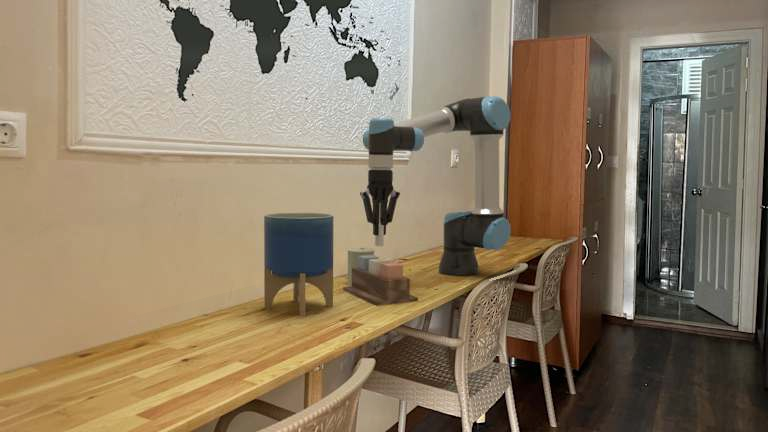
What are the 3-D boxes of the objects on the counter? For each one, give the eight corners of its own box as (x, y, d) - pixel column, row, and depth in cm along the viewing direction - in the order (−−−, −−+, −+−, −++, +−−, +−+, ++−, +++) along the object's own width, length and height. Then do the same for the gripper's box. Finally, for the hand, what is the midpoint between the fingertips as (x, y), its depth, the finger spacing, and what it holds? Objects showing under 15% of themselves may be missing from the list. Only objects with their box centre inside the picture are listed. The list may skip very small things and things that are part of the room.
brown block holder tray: (381, 286, 205) (381, 265, 205) (418, 301, 184) (418, 277, 183) (343, 289, 199) (343, 268, 198) (376, 305, 178) (376, 281, 177)
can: (375, 281, 215) (375, 246, 214) (372, 286, 206) (372, 250, 205) (349, 280, 216) (349, 246, 215) (345, 285, 206) (345, 249, 205)
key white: (382, 278, 194) (383, 258, 194) (390, 281, 190) (390, 260, 189) (368, 280, 192) (368, 259, 192) (375, 283, 188) (375, 262, 187)
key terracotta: (394, 283, 187) (395, 262, 187) (402, 286, 183) (403, 264, 182) (380, 284, 185) (380, 263, 185) (387, 287, 181) (388, 266, 180)
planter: (327, 298, 186) (328, 212, 184) (338, 314, 167) (338, 217, 165) (262, 301, 181) (262, 212, 179) (266, 317, 163) (265, 218, 160)
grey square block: (371, 274, 202) (371, 255, 201) (378, 277, 197) (378, 257, 197) (357, 275, 199) (357, 256, 199) (364, 278, 195) (364, 258, 194)
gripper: (393, 169, 194) (392, 243, 196) (356, 168, 188) (355, 245, 190) (405, 169, 188) (403, 246, 190) (366, 169, 182) (365, 248, 184)
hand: (379, 245), depth 190 cm, fingers closed
